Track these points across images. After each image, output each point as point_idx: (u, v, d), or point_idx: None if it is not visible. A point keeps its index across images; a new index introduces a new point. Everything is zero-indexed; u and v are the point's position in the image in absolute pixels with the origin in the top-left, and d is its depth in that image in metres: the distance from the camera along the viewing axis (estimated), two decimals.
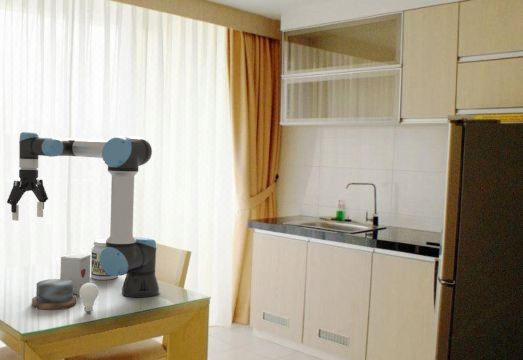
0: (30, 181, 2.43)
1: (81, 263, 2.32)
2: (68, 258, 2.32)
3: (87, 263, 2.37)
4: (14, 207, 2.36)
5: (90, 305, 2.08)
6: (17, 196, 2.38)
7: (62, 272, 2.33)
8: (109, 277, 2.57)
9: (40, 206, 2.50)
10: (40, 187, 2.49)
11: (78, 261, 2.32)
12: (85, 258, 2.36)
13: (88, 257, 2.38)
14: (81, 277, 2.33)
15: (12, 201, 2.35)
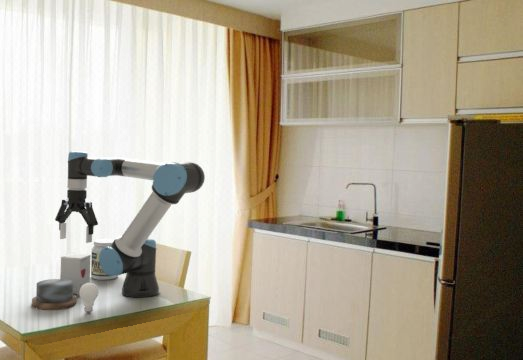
0: (74, 202, 2.34)
1: (81, 263, 2.32)
2: (68, 258, 2.32)
3: (87, 263, 2.37)
4: (60, 225, 2.38)
5: (90, 305, 2.08)
6: None
7: (62, 272, 2.33)
8: (109, 277, 2.57)
9: None
10: None
11: (78, 261, 2.32)
12: (85, 258, 2.36)
13: (88, 257, 2.38)
14: (81, 277, 2.33)
15: (56, 218, 2.38)
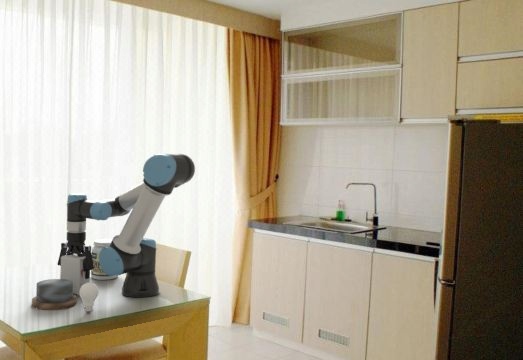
0: (74, 244, 2.35)
1: (81, 263, 2.32)
2: (68, 258, 2.32)
3: None
4: None
5: (90, 305, 2.08)
6: None
7: (62, 272, 2.33)
8: (109, 277, 2.57)
9: None
10: None
11: (78, 261, 2.32)
12: None
13: None
14: (81, 277, 2.33)
15: (58, 263, 2.39)
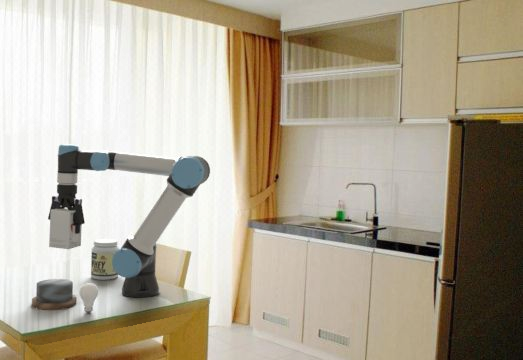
0: (64, 197, 2.25)
1: (71, 216, 2.22)
2: (58, 211, 2.22)
3: None
4: None
5: (90, 305, 2.08)
6: None
7: (51, 226, 2.23)
8: (109, 277, 2.57)
9: None
10: None
11: (67, 214, 2.21)
12: None
13: None
14: (70, 231, 2.22)
15: (49, 217, 2.29)
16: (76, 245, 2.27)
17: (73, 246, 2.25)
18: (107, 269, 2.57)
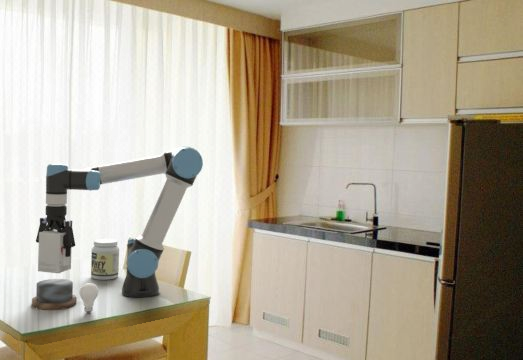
0: (53, 219, 2.15)
1: (61, 239, 2.13)
2: (47, 234, 2.13)
3: None
4: None
5: (90, 305, 2.08)
6: None
7: (40, 249, 2.13)
8: (109, 277, 2.57)
9: None
10: None
11: (57, 236, 2.12)
12: None
13: None
14: (61, 255, 2.13)
15: (37, 240, 2.19)
16: (66, 268, 2.18)
17: (63, 270, 2.16)
18: (107, 269, 2.57)
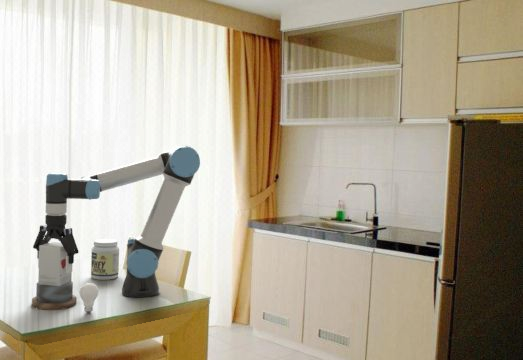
0: (53, 228, 2.16)
1: (61, 252, 2.13)
2: (47, 247, 2.13)
3: None
4: (38, 253, 2.20)
5: (90, 305, 2.08)
6: None
7: (40, 262, 2.14)
8: (109, 277, 2.57)
9: None
10: None
11: (57, 250, 2.12)
12: None
13: None
14: (61, 268, 2.13)
15: (34, 246, 2.20)
16: (66, 281, 2.18)
17: (63, 283, 2.16)
18: (107, 269, 2.57)
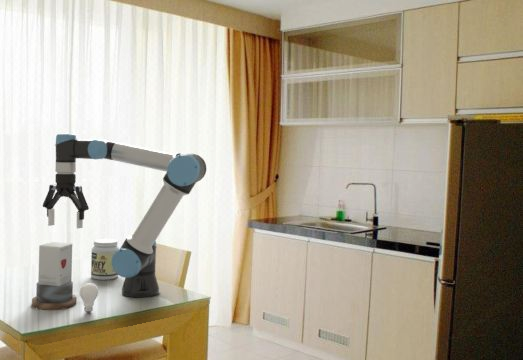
0: (63, 186, 2.25)
1: (61, 252, 2.13)
2: (47, 247, 2.13)
3: (68, 253, 2.18)
4: (47, 211, 2.29)
5: (90, 305, 2.08)
6: None
7: (40, 262, 2.14)
8: (109, 277, 2.57)
9: None
10: None
11: (57, 250, 2.12)
12: (66, 247, 2.16)
13: (69, 246, 2.19)
14: (61, 268, 2.13)
15: (43, 204, 2.28)
16: (66, 281, 2.18)
17: (63, 283, 2.16)
18: (107, 269, 2.57)
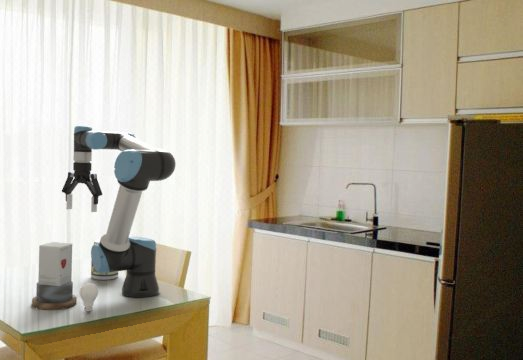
0: (80, 174, 2.47)
1: (61, 252, 2.13)
2: (47, 247, 2.13)
3: (68, 253, 2.18)
4: (66, 196, 2.52)
5: (90, 305, 2.08)
6: None
7: (40, 262, 2.14)
8: (109, 277, 2.57)
9: None
10: None
11: (57, 250, 2.12)
12: (66, 247, 2.16)
13: (69, 246, 2.19)
14: (61, 268, 2.13)
15: (62, 190, 2.52)
16: (66, 281, 2.18)
17: (63, 283, 2.16)
18: None
